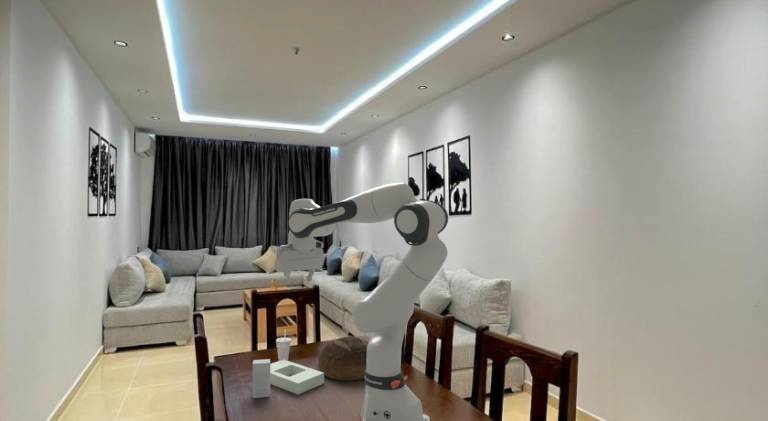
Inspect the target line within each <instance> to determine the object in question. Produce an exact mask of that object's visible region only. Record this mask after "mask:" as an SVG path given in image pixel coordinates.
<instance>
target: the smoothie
mask: <svg viewBox="0 0 768 421" xmlns="http://www.w3.org/2000/svg"><path fill="white" fill-rule="evenodd" d="M286 331H287V330H286V329H284V330H283V333H284V334H283V336H284V337H279V338H276V340H275V343H276V347H277V349H276V350H277V357H278V361H280V360H283V359H284V360H287V361H289V355H290V348H291V343H292V338H290V337H286V336H287V335H286V334H287V332H286Z"/></svg>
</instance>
